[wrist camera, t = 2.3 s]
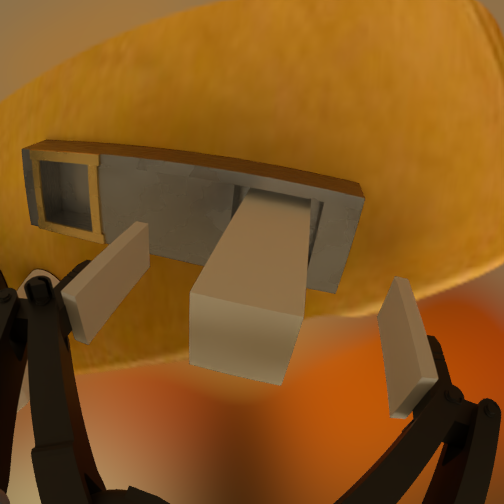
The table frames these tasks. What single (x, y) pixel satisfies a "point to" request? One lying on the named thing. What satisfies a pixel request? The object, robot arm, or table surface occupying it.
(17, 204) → the table surface
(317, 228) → the grey peg hole board
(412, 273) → the table surface
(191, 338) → the peg
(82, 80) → the table surface
